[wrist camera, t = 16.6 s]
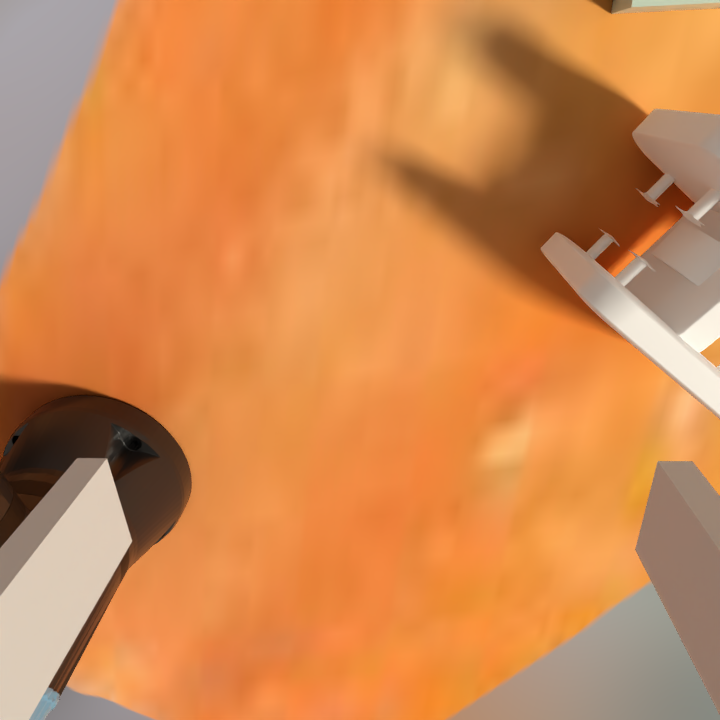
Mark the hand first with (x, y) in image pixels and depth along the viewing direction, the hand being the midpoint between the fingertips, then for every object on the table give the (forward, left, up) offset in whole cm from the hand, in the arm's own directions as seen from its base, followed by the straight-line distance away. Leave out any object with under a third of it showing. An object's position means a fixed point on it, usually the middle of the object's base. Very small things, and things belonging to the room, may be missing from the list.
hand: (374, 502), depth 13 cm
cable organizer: (+18, -1, -27) cm, 32 cm away
